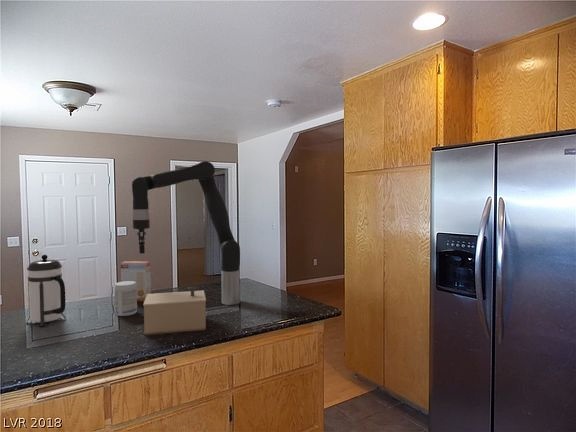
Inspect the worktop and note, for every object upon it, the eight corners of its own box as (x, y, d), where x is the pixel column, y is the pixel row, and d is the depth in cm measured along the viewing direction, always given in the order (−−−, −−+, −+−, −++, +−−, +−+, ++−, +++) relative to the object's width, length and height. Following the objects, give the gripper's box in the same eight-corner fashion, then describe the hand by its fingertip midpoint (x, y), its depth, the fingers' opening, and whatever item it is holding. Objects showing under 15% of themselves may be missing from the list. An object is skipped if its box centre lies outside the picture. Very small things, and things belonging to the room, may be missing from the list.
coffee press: (18, 330, 153) (16, 258, 152) (33, 318, 169) (31, 252, 167) (65, 326, 158) (63, 256, 156) (76, 314, 173) (74, 251, 172)
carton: (203, 317, 170) (203, 291, 169) (205, 329, 155) (205, 301, 154) (148, 322, 163) (147, 295, 163) (144, 335, 148) (144, 305, 147)
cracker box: (151, 299, 201) (151, 260, 200) (146, 302, 195) (145, 262, 194) (127, 298, 202) (126, 260, 201) (121, 301, 196) (120, 262, 195)
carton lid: (203, 291, 170) (203, 282, 169) (206, 301, 154) (205, 291, 154) (147, 295, 163) (146, 285, 163) (143, 305, 147) (143, 295, 147)
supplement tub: (140, 310, 180) (140, 280, 179) (131, 317, 171) (130, 285, 170) (121, 310, 181) (121, 280, 180) (111, 316, 171) (110, 285, 170)
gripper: (149, 219, 173) (150, 253, 173) (149, 217, 186) (150, 249, 187) (132, 219, 170) (133, 254, 171) (133, 218, 183) (134, 250, 184)
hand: (142, 252), depth 179 cm, fingers open, 8 cm apart
